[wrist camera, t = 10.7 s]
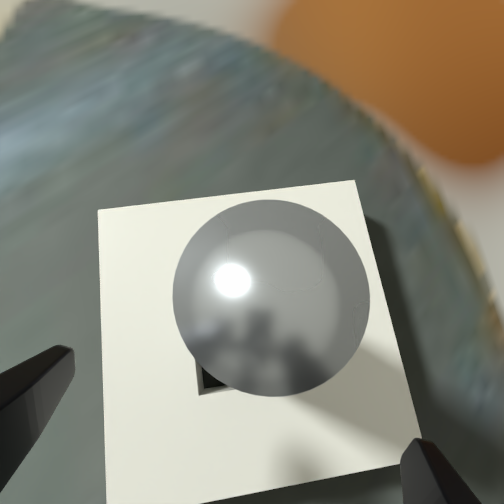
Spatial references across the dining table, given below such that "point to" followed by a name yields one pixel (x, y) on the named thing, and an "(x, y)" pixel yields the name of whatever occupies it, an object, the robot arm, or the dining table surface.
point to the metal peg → (271, 298)
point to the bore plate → (224, 397)
